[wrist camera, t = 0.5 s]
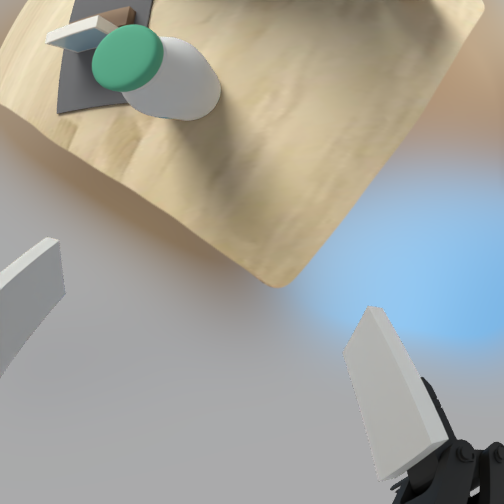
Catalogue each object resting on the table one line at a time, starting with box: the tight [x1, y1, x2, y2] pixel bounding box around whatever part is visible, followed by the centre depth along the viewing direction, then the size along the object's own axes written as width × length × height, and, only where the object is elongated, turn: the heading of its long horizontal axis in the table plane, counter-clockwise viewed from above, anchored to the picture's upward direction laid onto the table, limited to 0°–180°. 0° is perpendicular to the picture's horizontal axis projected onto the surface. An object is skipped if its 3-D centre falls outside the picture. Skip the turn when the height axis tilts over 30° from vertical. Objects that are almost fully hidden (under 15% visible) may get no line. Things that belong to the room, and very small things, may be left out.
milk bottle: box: [92, 24, 221, 121], centre depth 21 cm, size 8×8×20 cm
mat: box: [57, 0, 153, 114], centre depth 26 cm, size 20×14×1 cm
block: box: [69, 6, 136, 27], centre depth 23 cm, size 3×10×2 cm, turn 85°
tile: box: [45, 15, 119, 53], centre depth 22 cm, size 2×8×8 cm, turn 86°
